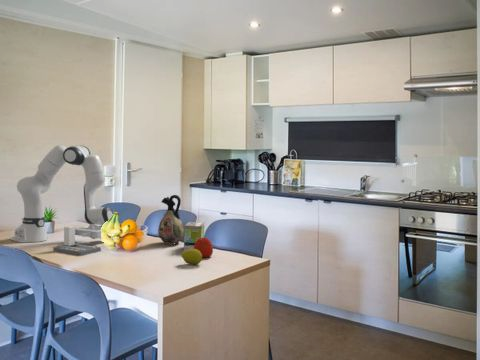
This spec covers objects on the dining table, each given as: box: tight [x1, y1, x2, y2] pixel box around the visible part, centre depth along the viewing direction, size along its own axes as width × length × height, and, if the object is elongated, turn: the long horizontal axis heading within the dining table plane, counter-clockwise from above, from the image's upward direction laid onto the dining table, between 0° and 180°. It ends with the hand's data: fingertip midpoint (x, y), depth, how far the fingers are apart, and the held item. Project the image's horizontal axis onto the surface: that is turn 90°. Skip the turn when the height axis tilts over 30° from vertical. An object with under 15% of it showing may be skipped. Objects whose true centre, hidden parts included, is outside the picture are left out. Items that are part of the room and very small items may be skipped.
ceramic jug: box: [157, 194, 185, 245], centre depth 275 cm, size 17×15×30 cm
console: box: [52, 243, 102, 257], centre depth 249 cm, size 21×14×3 cm, turn 62°
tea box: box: [183, 221, 205, 252], centre depth 261 cm, size 15×10×15 cm, turn 179°
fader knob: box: [61, 225, 77, 247], centre depth 251 cm, size 6×5×10 cm
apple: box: [194, 237, 214, 258], centre depth 241 cm, size 10×10×10 cm
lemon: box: [180, 249, 203, 266], centre depth 223 cm, size 11×8×8 cm
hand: (76, 234), depth 256 cm, fingers open, 8 cm apart
